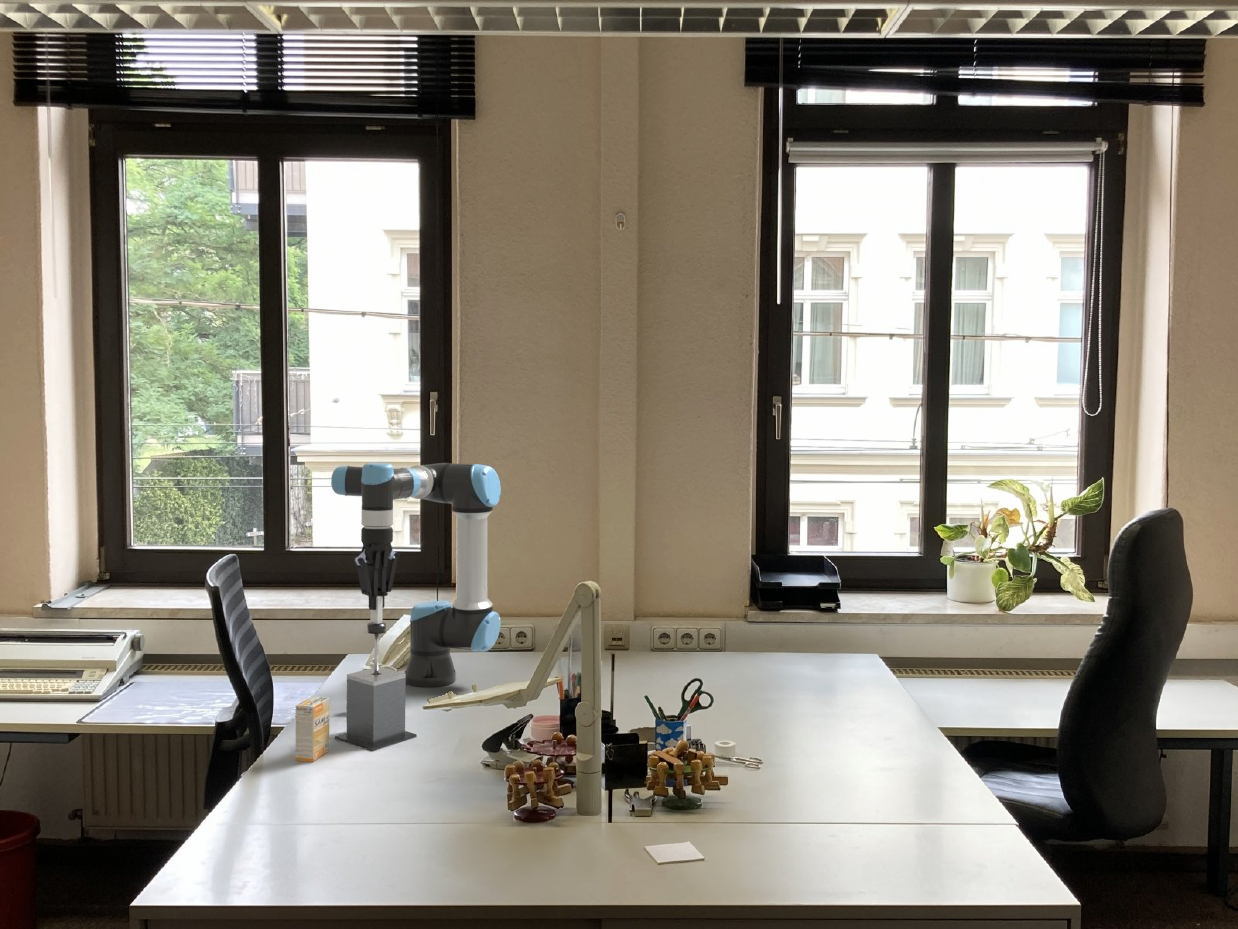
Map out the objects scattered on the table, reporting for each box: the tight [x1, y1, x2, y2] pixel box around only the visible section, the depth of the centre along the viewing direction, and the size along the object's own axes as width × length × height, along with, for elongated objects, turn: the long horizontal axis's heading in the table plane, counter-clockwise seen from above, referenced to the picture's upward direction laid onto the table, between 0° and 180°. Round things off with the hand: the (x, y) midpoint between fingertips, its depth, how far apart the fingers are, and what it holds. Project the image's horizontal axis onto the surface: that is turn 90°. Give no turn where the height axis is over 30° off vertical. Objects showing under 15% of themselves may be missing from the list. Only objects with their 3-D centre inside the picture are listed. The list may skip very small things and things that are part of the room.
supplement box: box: [294, 696, 331, 763], centre depth 251 cm, size 8×5×13 cm, turn 168°
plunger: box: [366, 621, 387, 675], centre depth 263 cm, size 7×7×15 cm
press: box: [334, 666, 417, 752], centre depth 265 cm, size 14×15×16 cm
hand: (376, 622), depth 263 cm, fingers closed
